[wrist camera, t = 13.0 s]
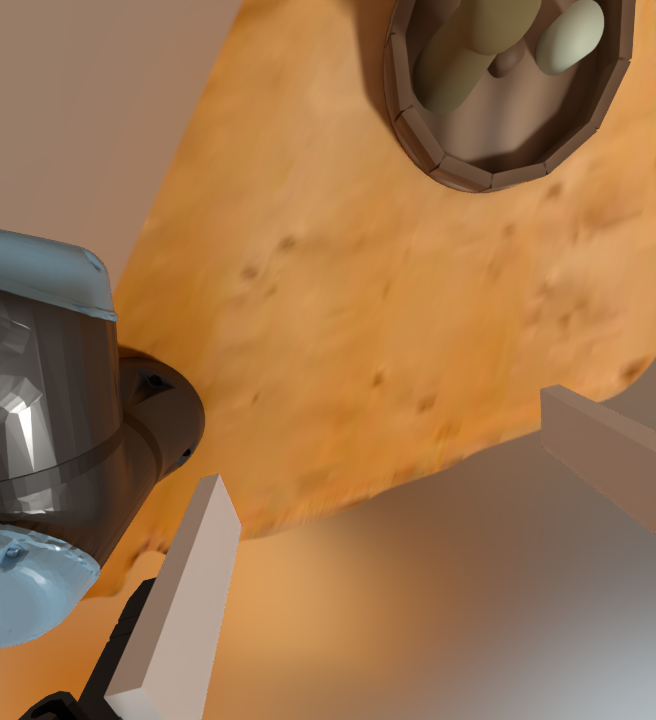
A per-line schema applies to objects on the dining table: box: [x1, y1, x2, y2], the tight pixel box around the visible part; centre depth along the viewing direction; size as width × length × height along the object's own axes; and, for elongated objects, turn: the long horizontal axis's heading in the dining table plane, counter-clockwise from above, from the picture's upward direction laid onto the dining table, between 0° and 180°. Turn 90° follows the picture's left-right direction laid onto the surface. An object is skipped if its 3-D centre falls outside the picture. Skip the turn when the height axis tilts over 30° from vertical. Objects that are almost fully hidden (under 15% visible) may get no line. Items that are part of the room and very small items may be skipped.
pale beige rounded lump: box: [535, 0, 604, 76], centre depth 29 cm, size 4×4×3 cm
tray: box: [383, 0, 636, 193], centre depth 30 cm, size 22×22×3 cm
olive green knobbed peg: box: [412, 0, 542, 114], centre depth 25 cm, size 6×6×11 cm
